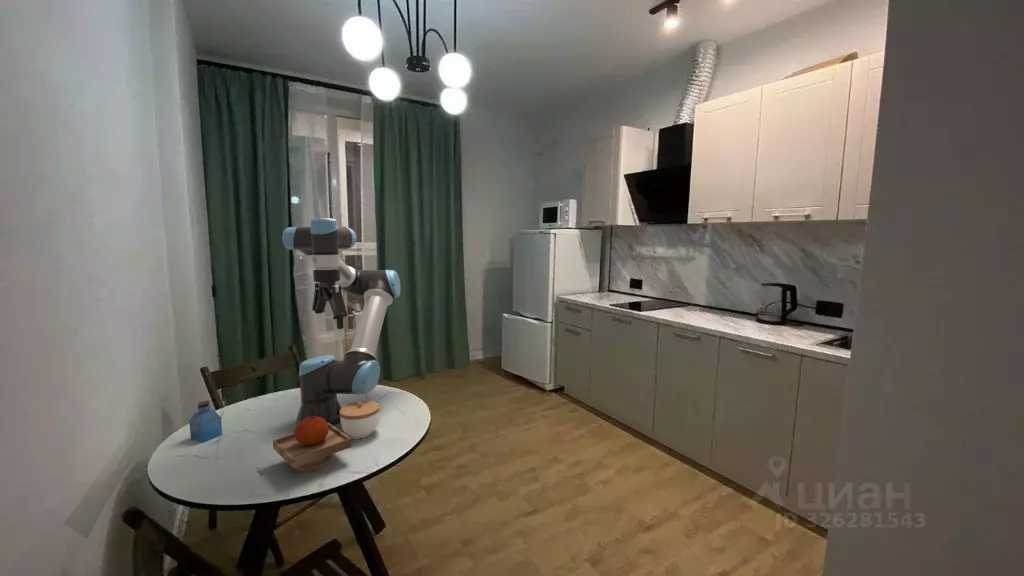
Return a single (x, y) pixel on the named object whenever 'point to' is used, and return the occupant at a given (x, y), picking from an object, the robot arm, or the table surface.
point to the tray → (311, 450)
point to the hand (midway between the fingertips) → (330, 336)
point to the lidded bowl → (359, 418)
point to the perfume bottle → (205, 423)
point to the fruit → (311, 430)
